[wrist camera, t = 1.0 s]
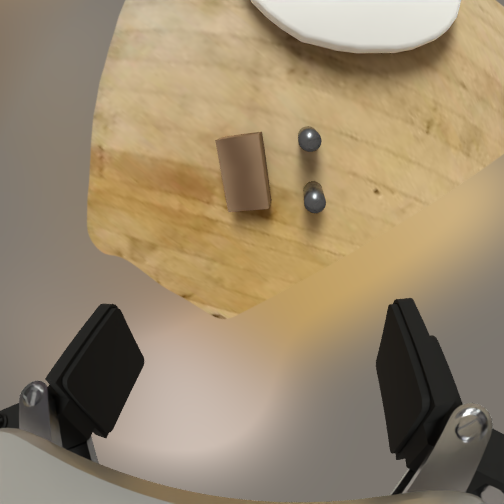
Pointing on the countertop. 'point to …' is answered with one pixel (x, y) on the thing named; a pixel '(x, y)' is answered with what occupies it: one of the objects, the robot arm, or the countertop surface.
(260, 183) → the block
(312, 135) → the bench dogs
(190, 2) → the countertop surface
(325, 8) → the white thick disc
